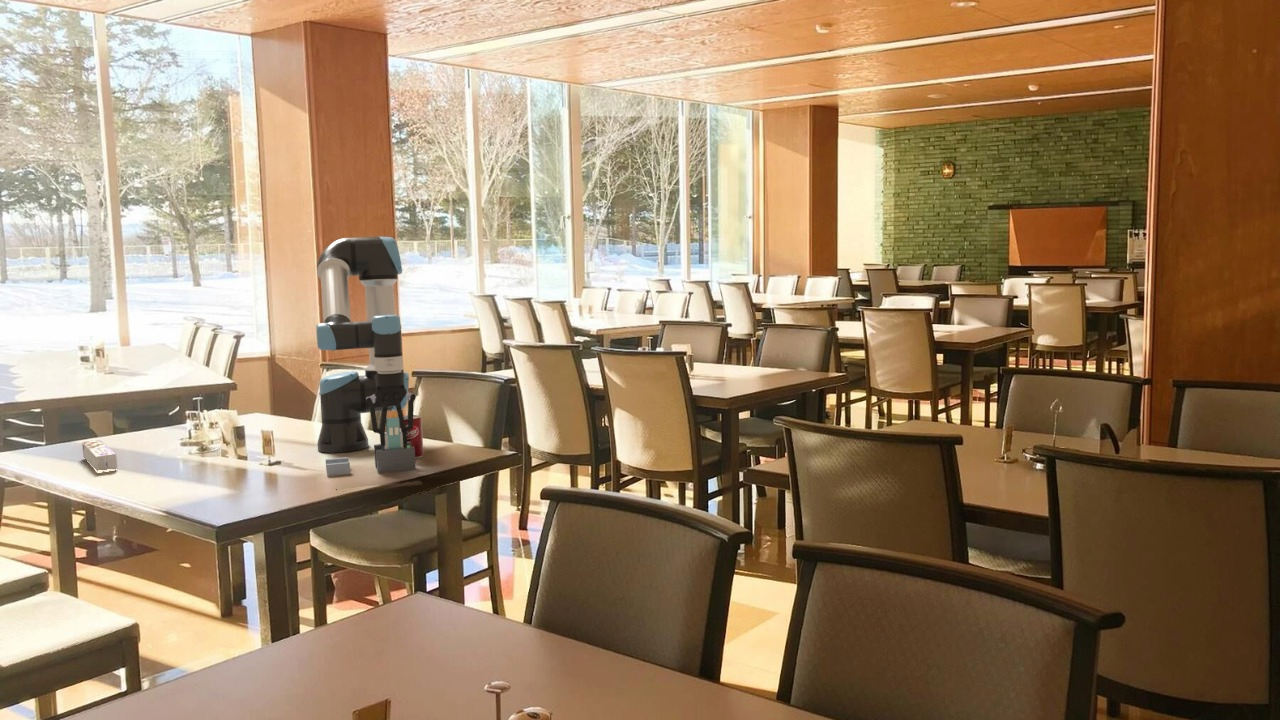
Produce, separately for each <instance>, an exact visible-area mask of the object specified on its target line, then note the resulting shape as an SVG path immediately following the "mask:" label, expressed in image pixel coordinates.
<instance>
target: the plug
mask: <svg viewBox="0 0 1280 720" xmlns="http://www.w3.org/2000/svg"><path fill="white" fill-rule="evenodd" d="M385 432H386V433H387V434H388V448H389V449H393V448H401V443H400V427H399V419H398V416H397V417H386V426H385Z"/></svg>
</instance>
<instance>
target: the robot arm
mask: <svg viewBox="0 0 1280 720" xmlns="http://www.w3.org/2000/svg"><path fill="white" fill-rule="evenodd" d="M316 263H317V264H316V273H317V274H316V275H317V277H318V279H319V280H320V283H321V284H320V285H321V286H320V287H321V303H322V304H321V305H322V308H321V309H322V320H323V322H322V323H317V325H316V344H317V349H318V350H320V351H342V350H343V351H344V350H355V349H368V355H369V356H368V358H369V364H368V365H367V367H365V369H364V372H365V373H364V375H359V372H358V371H356V370H355V371H354V370H352V371H343V372H338V373H334V374H330V375H327V376H326V375H325V376H324V377H323V378H322V379H320V381H319V392H318V393H319V396H320V399H319V400H320V413H321V414H320V415H321V429H320V433H319V436H318V439H317V451H318V452H320V453H327V454H328V453H329V454H332V453H335V454H336V453H337V454H338V453H339V454H340V453H349V452H355V451H361V450H365V449H366V448H368V447H369V445H370V444H369V439H368V438H369V437H368V435H367V433H366V431H365V428H364V426H363V423H362V414H366V413H370V418H371V427H372V432H374V433H375V434H379V437H380V438H379V442H380V443H379V444H381V445H382V446H385V449H389V448H388V434H387V432H386V418H388V417H387V416H388V415H387V414H388V412H393V411H396V414H397V417H398V418H399V422H400V427H401V432H400V443H401V448H403V444H406V443H407V431H409V430H412V429H413V415H414V403H415V400H416V397H417V395H416V394H415V393H413V392H412V393H411V392H409V383H410V382H409V381H410V380H409V378H410V377H409V373H408V372H406V371H404V370H405V369H404V359H403V358H404V357H403V342H402V341H403V340H402V324H401V317H400V315H398V314H396V309H395V308H396V307H395V295H394V294H395V293H394V285H395V283H396V282H398V275H401V274H402V273H403V268H402V261H401V256H400V251H399V247H398V243H397V240H396V239H395V238H393V237H390V236H380V235H379V236H366V237H362V236H361V237H343V238H339V239H337V240H334V241H333V242H332V243H330V244H328V246H327V247H325V248H324V250H322V252H321V254H320V255H319V258H318V260H317V262H316ZM350 276H351V277H352V276H353V277H354V276H355V277H356V276H358V282H359V283H360V284H361V285H362V286H363V287H364V295H365V296H364V297H365V314H366V320H365V321H352V317H351V306H350V295H349V294H350V293H349V281H348V279H349V278H350ZM406 406H407V415H408V425H407V426H405V422H404V417H403V416H404V415H403V414H404V413H403V410H404V409H405V408H406ZM380 412H381V414H380V415H381V416H380V424H379V427H378V421H377V416H376V414H377V413H380Z"/></svg>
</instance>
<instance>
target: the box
mask: <svg viewBox="0 0 1280 720" xmlns="http://www.w3.org/2000/svg"><path fill="white" fill-rule="evenodd" d="M81 446H82V458H83V457H84V458H85V459H86V460H87V461H88V462H89V463H90V464H91V465H92V466H93V467H94V468H95V469H96V470H97V471H98V470H107V469H116V468H117V469H118V463H117V461H118V459H117V454H116V452H114V451H113V450H112V449H111V448H110V447H109V446H108V445H107V444H105V442H104V441H102V439H97V440H89V441H88V440H87V441H82V442H81ZM84 458H83V459H84ZM85 459H84V460H85ZM86 460H85V461H86Z"/></svg>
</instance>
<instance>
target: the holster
mask: <svg viewBox="0 0 1280 720" xmlns="http://www.w3.org/2000/svg"><path fill="white" fill-rule="evenodd" d="M350 463H351V462H350V461H349V457H348V456H347V457H335V458H326V459H325V470H326V477H331V476H332V477H333V476H342V475H351V464H350Z"/></svg>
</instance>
